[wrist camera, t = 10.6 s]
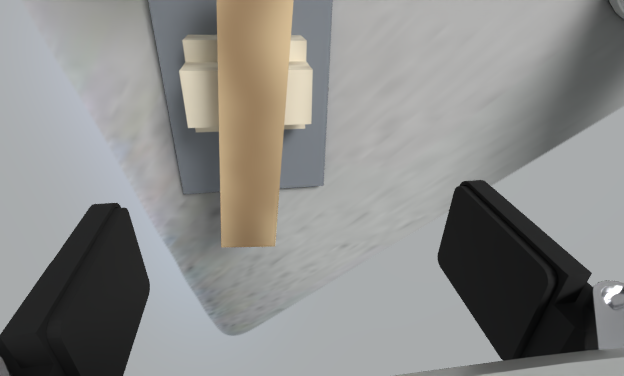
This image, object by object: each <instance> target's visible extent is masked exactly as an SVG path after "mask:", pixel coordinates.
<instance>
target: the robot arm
mask: <svg viewBox="0 0 624 376" xmlns="http://www.w3.org/2000/svg"><path fill="white" fill-rule="evenodd" d="M609 1H610V3H611V5H612V7H613V9H614V11H615V12H616V13H617V14H618V15H619V16H620V17H621V18H623V19H624V0H609ZM438 262H439V265H440V267H441V269H442V270H443V271H444V273H445V275H446V276H447V278H448V279H449V281H450V282H451V284H452V285H453V287H454V288H455V290H456V291H457V293H458V294H459V296H460V297H461V299H462V300H463V302H464V303H465V305H466V306H467V308H468V309H469V311H470V312H471V314H472V315H473V317H474V318H475V320H476V321H477V323H478V324H479V326H480V328H481V329H482V331H483V332H484V333H485V335H486V337H487V338H488V339H489V341H490V343H491V344H492V346H493V347H494V349H495V350H496V352H497V353H498V355H499V356H500V358H501V359H502V360H503V361H498V362H491V363H483V364H476V365H469V366H461V367H454V368H446V369H439V370H432V371H424V372H418V373H410V374H403V375H396V376H624V283H622V282H618V281H607V280H606V281H601V282H598V283H597V284H595V285H594V287H592V286H591V285H590V284H588V283H587V281H588V279H589V277H590V276H591V274H592V273H591V272H590V271H589V270H587V269H586V268H585V267H584V266H583V265H582V264H580V263H579V262H578V261H577V260H576V259H575V258H573V257H572V256H571V255H570V254H569V253H568V252H567V251H565V250H564V249H563V248H562V247H561V246H560V245H558V244H557V243H556V242H555V241H554V240H552V238H550V237H549V236H548V235H547V234H546V233H545V232H543V231H542V230H541V229H540V228H539V227H538V226H536V225H535V224H534V223H533V222H532V221H530V220H529V219H528V218H527V217H526V216H525V215H524V214H522V213H521V212H520V211H519V210H518V209H516V208H515V207H514V206H513V205H512V204H511V203H510V202H509V201H507V200H506V199H505V198H504V197H503V196H501V195H500V194H499V193H498V192H497V191H496V190H495V189H493V188H492V187H491V186H490V185H489V184H488V183H486V182H485V181H483V180H476V181H464V182H462V183H461V184H460V186H458V187H456V189H455V191H454V194H453V198H452V202H451V206H450V210H449V214H448V217H447V221H446V225H445V229H444V233H443V237H442V240H441V245H440V248H439V252H438ZM149 290H150V284H149V279H148V276H147V272H146V269H145V266H144V262H143V259H142V255H141V252H140V249H139V246H138V242H137V239H136V235H135V232H134V228H133V225H132V222H131V219H130V215H129V212H128V210H127V208H121V207H120V205H119V204H118V203H108V204H107V203H106V204H94V205H92V206H91V207H90V208H89V209H88V211H87V212H86V214H85V215H84V217H83V218H82V219H81V221H80V222H79V224H78V225H77V227H76V228H75V229H74V231H73V232H72V234H71V235H70V237H69V238H68V239H67V241H66V242H65V244H64V245H63V247H62V248H61V250H60V251H59V252H58V254H57V255H56V257H55V258H54V260H53V261H52V262H51V263H50V264H49V266H48V267H47V269H46V270H45V272H44V273H43V274H42V276H41V277H40V279H39V280H38V282H37V283H36V284H35V286H34V287H33V289H32V290H31V292H30V293H29V294H28V296H27V297H26V299H25V300H24V302H23V303H22V304H21V306H20V307H19V309H18V310H17V312H16V313H15V315H14V316H13V317H12V319H11V320H10V322H9V323H8V324H7V326H6V327H5V329H4V330H3V332H2V333H1V334H0V376H123V374H124V371H125V368H126V365H127V362H128V358H129V355H130V351H131V349H132V345H133V342H134V339H135V336H136V333H137V330H138V327H139V324H140V320H141V317H142V314H143V311H144V308H145V305H146V302H147V299H148V296H149Z"/></svg>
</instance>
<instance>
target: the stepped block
mask: <svg viewBox="0 0 624 376" xmlns="http://www.w3.org/2000/svg"><path fill="white" fill-rule="evenodd" d="M182 42H183V49H184V56H185V63H184V65H183V66H182V68H181V69H180V70H179V74H180V80H181V86H182V93H183V99H184V105H185V111H186V118H187V124H188V128H195V130H196V132H219V101H218V49H217V35H187V36H186V37H185V38H184V39H183V40H182ZM306 52H307V40H305V39H304V38H303V37H302V36H301V35H291V42H290V55H289V68H288V81H287V95H286V108H285V121H284V129H305V124H311V117H312V79H313V69H312V68H311V67H310V66H309V64H308V63H307V62H306Z"/></svg>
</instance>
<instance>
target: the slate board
mask: <svg viewBox="0 0 624 376" xmlns="http://www.w3.org/2000/svg"><path fill="white" fill-rule="evenodd" d="M332 1H333V0H294V2H293V15H292V29H291V35H301V36H302V37H303V38H304V39H305V40H307V52H306V62H307V63H308V64H309V66H310V67H311V68H312V69H313V79H312V117H311V124H305V129H284V134H283V148H282V161H281V174H280V187H279V188H293V187H310V186H323V185H324V164H325V144H326V124H327V103H328V83H329V63H330V42H331V22H332ZM148 2H149V8H150V13H151V19H152V24H153V30H154V35H155V41H156V46H157V51H158V57H159V62H160V68H161V73H162V79H163V84H164V90H165V95H166V100H167V106H168V111H169V117H170V122H171V128H172V133H173V139H174V144H175V150H176V155H177V160H178V166H179V171H180V177H181V182H182V188H183V193H184V194H194V193H210V192H220V153H219V132H196V130H195V128H188V124H187V118H186V111H185V105H184V99H183V93H182V86H181V80H180V74H179V70H180V69H181V68H182V66H183V65H184V63H185V56H184V49H183V42H182V40H183V39H184V38H185V37H186V36H187V35H217V0H148Z"/></svg>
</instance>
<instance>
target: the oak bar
mask: <svg viewBox="0 0 624 376" xmlns="http://www.w3.org/2000/svg"><path fill="white" fill-rule="evenodd" d="M293 2H294V0H217V49H218V101H219V153H220V205H221V247H267V246H275V240H276V227H277V214H278V201H279V187H280V174H281V161H282V148H283V134H284V121H285V108H286V95H287V81H288V68H289V55H290V42H291V29H292V15H293Z"/></svg>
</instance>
